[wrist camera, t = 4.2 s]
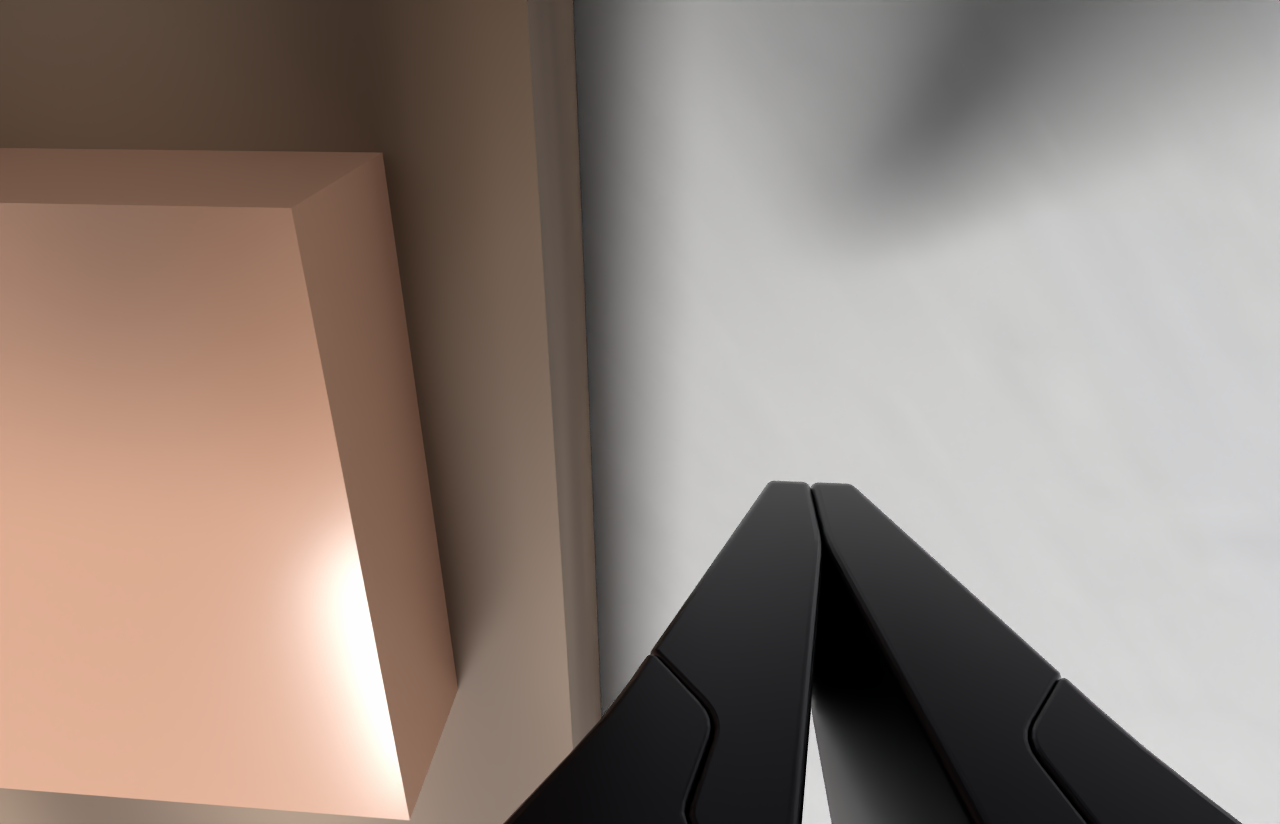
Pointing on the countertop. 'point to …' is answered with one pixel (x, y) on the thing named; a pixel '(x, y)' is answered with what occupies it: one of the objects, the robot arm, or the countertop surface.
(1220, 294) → the countertop surface
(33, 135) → the wooden block
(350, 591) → the coaster
